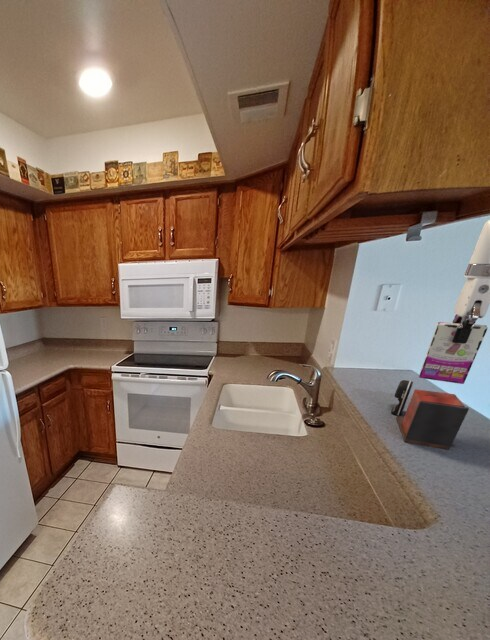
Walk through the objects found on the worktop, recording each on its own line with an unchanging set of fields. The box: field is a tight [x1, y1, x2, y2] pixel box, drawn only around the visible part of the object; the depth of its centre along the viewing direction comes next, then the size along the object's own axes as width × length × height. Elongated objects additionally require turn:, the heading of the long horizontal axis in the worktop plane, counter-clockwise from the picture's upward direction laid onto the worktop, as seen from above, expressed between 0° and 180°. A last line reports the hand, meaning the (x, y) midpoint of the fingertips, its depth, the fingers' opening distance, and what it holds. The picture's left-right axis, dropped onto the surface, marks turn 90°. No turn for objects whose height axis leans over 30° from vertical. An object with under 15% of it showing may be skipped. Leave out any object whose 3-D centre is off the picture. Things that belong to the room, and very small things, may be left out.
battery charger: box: [390, 379, 414, 416], centre depth 114 cm, size 7×4×11 cm, turn 142°
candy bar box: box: [418, 321, 489, 385], centre depth 97 cm, size 11×5×16 cm, turn 55°
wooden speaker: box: [395, 388, 470, 451], centre depth 100 cm, size 11×18×13 cm, turn 155°
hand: (456, 340), depth 96 cm, fingers closed on candy bar box, 5 cm apart
